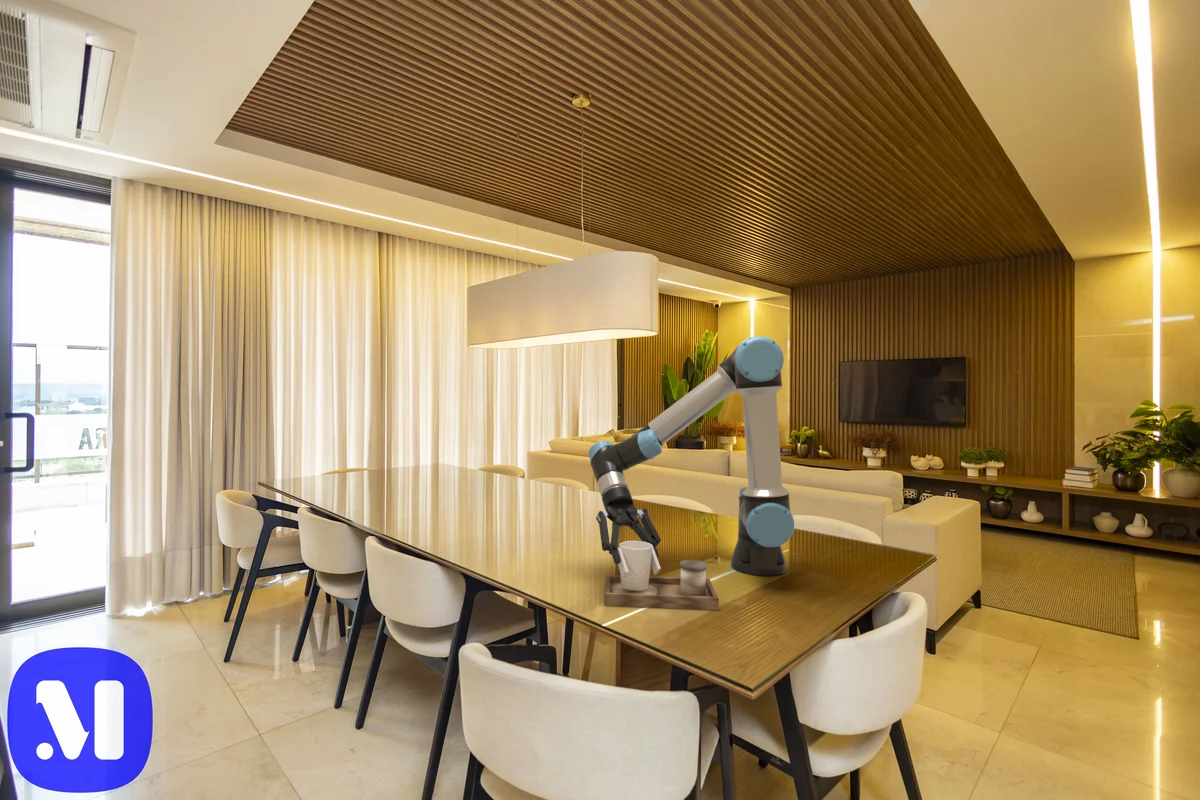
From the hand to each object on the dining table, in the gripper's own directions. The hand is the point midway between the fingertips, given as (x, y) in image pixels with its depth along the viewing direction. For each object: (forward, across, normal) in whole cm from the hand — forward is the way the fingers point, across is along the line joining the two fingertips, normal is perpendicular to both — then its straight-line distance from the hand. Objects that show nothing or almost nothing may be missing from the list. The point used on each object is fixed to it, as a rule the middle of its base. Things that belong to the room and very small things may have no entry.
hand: (641, 573), depth 136 cm
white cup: (+1, 0, -6) cm, 6 cm away
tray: (+4, -5, -5) cm, 9 cm away
